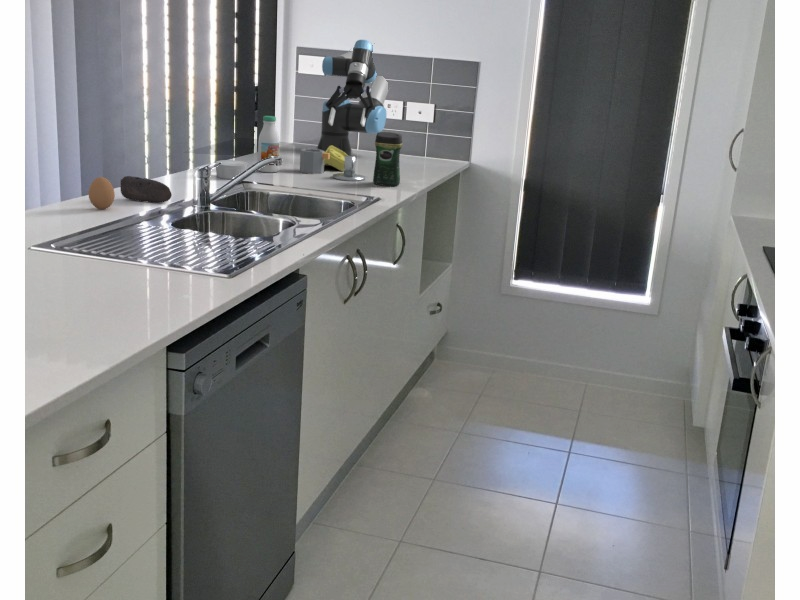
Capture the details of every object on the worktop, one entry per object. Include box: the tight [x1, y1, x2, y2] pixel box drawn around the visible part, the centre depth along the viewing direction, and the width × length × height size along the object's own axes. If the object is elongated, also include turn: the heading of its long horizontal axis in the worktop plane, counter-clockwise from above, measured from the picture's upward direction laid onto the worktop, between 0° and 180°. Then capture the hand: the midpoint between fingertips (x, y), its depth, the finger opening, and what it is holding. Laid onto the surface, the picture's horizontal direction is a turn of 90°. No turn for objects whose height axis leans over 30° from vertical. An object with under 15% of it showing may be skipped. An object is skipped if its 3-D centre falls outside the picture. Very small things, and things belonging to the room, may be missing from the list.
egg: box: [88, 176, 116, 210], centre depth 234 cm, size 7×7×9 cm
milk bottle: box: [257, 115, 280, 173], centre depth 312 cm, size 8×8×20 cm
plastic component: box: [324, 145, 348, 172], centre depth 335 cm, size 20×7×10 cm
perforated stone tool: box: [119, 175, 173, 203], centre depth 248 cm, size 15×5×7 cm, turn 80°
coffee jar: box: [372, 131, 403, 187], centre depth 304 cm, size 10×8×19 cm
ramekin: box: [214, 159, 248, 180], centre depth 297 cm, size 11×11×5 cm
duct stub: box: [332, 155, 366, 182], centre depth 312 cm, size 12×12×8 cm
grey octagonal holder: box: [299, 148, 330, 175], centre depth 319 cm, size 8×11×8 cm
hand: (346, 124), depth 332 cm, fingers open, 13 cm apart
